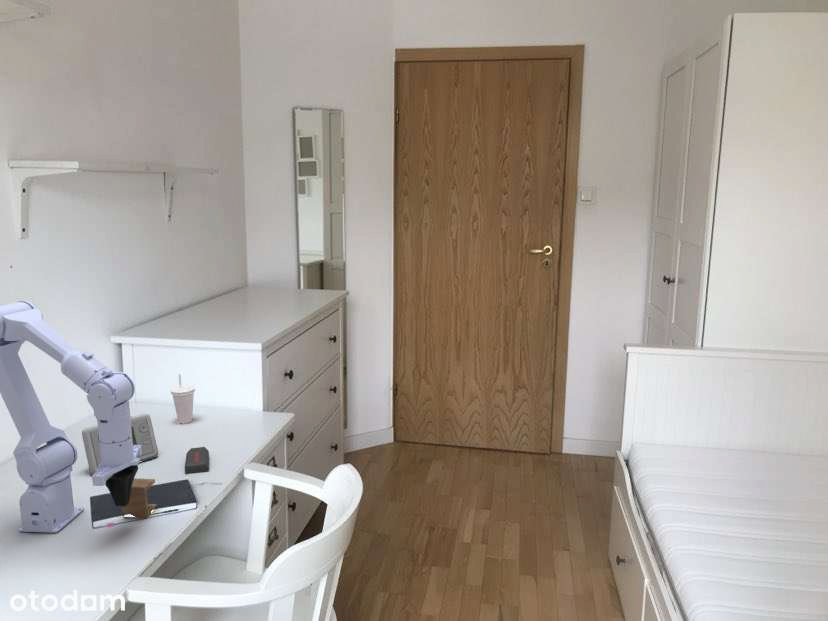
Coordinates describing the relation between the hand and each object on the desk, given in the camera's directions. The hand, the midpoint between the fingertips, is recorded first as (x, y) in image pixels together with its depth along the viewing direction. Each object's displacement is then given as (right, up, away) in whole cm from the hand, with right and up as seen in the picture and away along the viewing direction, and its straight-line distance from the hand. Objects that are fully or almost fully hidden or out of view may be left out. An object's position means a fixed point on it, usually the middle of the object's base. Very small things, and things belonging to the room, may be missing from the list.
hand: (122, 504), depth 127 cm
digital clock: (-14, 0, +31) cm, 34 cm away
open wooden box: (+1, -4, +8) cm, 8 cm away
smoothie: (-9, +6, +60) cm, 60 cm away
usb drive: (+4, 0, +31) cm, 32 cm away
